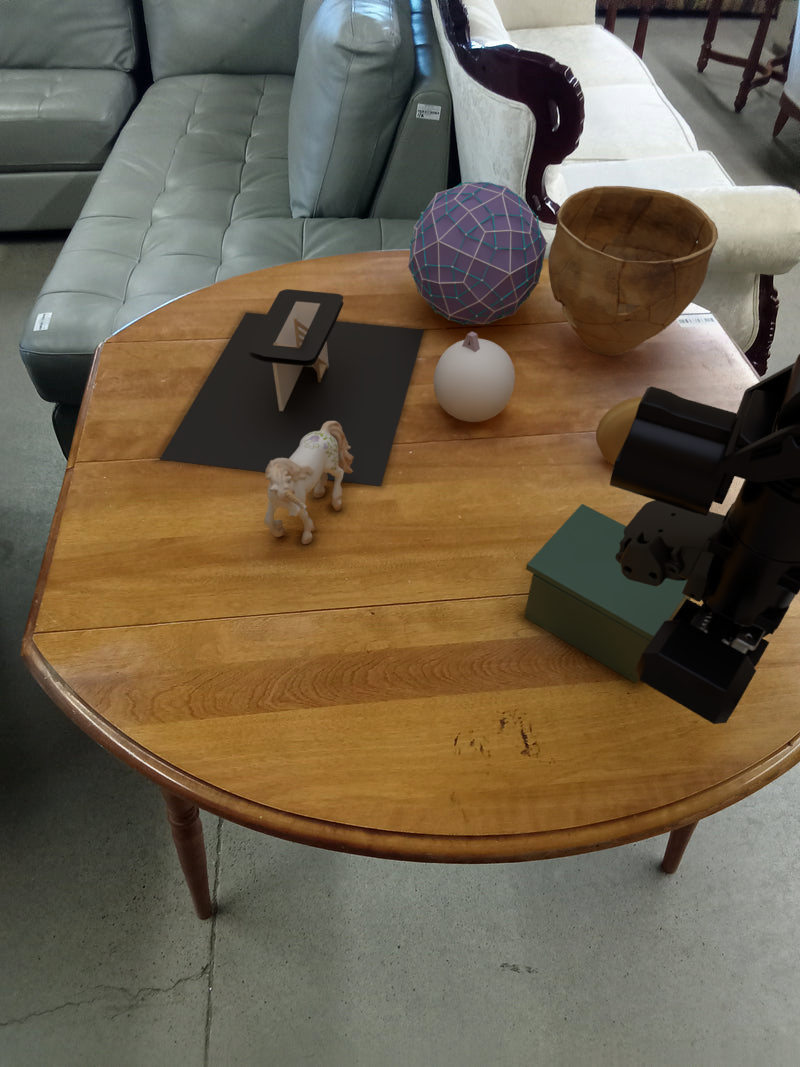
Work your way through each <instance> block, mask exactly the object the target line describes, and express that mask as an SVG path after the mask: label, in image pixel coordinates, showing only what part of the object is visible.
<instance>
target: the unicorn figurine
mask: <svg viewBox="0 0 800 1067" xmlns="http://www.w3.org/2000/svg"><path fill="white" fill-rule="evenodd" d="M350 448H351V447H350V446H349V445H348V442H347V440H346V438H345V435H344V433H343V431H342V427H341V425H340V424H339V423H338V422H336V421H327V422H325V423H324V424H323V425H322V428H321V430H320V431H313V432H311V433H308V434H307V435H305V436H304V437H303V438H302V439H301V441H300V445H299V447H298V448H297V450H296V451H295V452H294V453H293V454H292V456H291V457H290V458H289V459H287V458H276V459H274V460H271V461H270V463H269V464H268V466H267V468H266V472H264V473H265V480H266V481H269V482H268V487H267V499H268V502H267V508H266V512H265V515H264V521H263V522H264V524H265V525H266V527H267V528H268V529H269V532H270V534H271V535H272V536H274V537H276V538H280V537H283V536H285V535H286V532H287V530H286V529H285V527H284V522H283V521H282V519H275V514H276V512H277V510H278V509H279V508H280V509H285V510H286V509H287V511H288V516H289V517H297V516H299V518H300V519H301V521H302V522H303V529H304V531H303V533H302V536H301V538H300V541H301V543H302V544H303V545H308V544H310V543H312V541H313V533H312V532H313V531H314V530H315V529H316V528H315V526H314V521H313V519H312V518H311V517H309V512H308V511H307V505H306V501H307V495H308V493H310V492H311V491H312V490H313V493H312V496H313V497H314V498H315V499H319V498H322V497H324V495H325V494H326V488H325V487H326V486H327V483H328V480H327V479H328V477H327V473H330V474H331V475H333V476H335V480H334V482H333V490H332V492H331V498H332V502H331V505H332V508H333V509H334V511H336V512H339V511H341V510H342V509H343V501H342V498H343V487H342V485H341V484H342V482H343V481H342V478H343V474H344V472H346V473H352V472H353V470H352V469H351V468H350V464H351V463H352V462H353V461H352V459H354V457H353V456H352V455H351V454H350V453H349V452H348V451H347V450H349V449H350Z"/></svg>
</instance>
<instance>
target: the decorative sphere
mask: <svg viewBox="0 0 800 1067" xmlns="http://www.w3.org/2000/svg"><path fill="white" fill-rule="evenodd" d="M527 202H528V201H525V200H524V199H523V198H522V197H521V196H520V194H517V193H516V192H515V191H514V190H512V189H511V188H509V187H508V186H507V185H503V184H497V183H493V182H492V181H482V180H480V181H465V182H464V181H462V182H460V183H459V184H458V185H456V186H454V187H453V188H449V189H446V190H442V191H440V192H436V193H435V195H434V197H433V198H432V199H431V201H430V202H429V204H428V205H427V207H426V208H425V209H424V210H423V211H421V213H420V217H419V219H418V220H417V222H416V223H415V225H414V226H413V232H412V237H411V239H410V242H409V243H408V244H409V256H408V263H407V268H408V270H409V273H410V274H411V276H412V279H413V281H414V284H415V287H416V290H417V293H419V295H420V297H422V298H423V299H424V301H425V302H426V303H427V304H428V306H430V308H431V309H432V310H433V312H434V313H436V314H438V315H441V316H442V317H444V318H445V319H446V320H447V321H453V322H456V323H459V324H460V325H462V326H464V325H490V324H492V323H494V322H496V321H498V320H501V319H505V318H507V317H512V316H515V315H516V313H517V312H518V310H519V309H520V308H521V307H522V306H523V304H524V303H525V301H527V300H528V299H530V296H531V294H532V292H533V291H534V290H535V288H536V287H537V285H539V284H540V283H539V282H540V276H541V272H542V270H543V269H544V259H545V254H546V251H547V246H548V242H547V240H546V238H545V236H544V234H543V232H542V230H541V228H540V222H539V216H538V215H537V214H536V213H535V212H534V210H533V209H531V207H530V206H529V204H528V203H527Z"/></svg>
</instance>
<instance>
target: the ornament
mask: <svg viewBox="0 0 800 1067" xmlns="http://www.w3.org/2000/svg"><path fill="white" fill-rule="evenodd" d="M515 382H516V372H515V368H514V363H513V361H512V359H511V357H510V356H509V354H508V353H507V351H506V350H505V349H503V348H502V347H501V346H500V345H498V344H497V343H495V342H493V341H492V340H489V339H484V338H479V337H478V333H476V332H474V331H470V332H469V333H467V334H466V336H465V339H463V340H459V341H457V342H455V343H453V344H452V345H450V346H449V347H448V348H446V350H445V351H444V352H443V353H442V355H441V356H440V358H439V359H438V361H437V364H436V366H435V370H434V373H433V390H434V394H435V397H436V399H437V402H438V404H439V406H441V408H442V409H443V410H444V411H445V412H446V413H447V414H449V415H450V416H452V417H453V418H455V419H457V420H459V421H463V422H468V423H477V422H478V423H479V422H484V421H488V420H490V419H492V418H494V417H496V416H497V415H499V414H500V413H501V412H503V410H504V409H505V407H507V405H508V403H509V402H510V399H511V398H512V395H513V393H514V390H515Z"/></svg>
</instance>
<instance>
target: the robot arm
mask: <svg viewBox="0 0 800 1067" xmlns="http://www.w3.org/2000/svg"><path fill="white" fill-rule="evenodd" d="M642 396H643V397H642V399H641V401H640V403H639V406H638V409H637V413H636V416H635V419H634V421H633V424H632V426H631V429H630V431H629V434H628V436H627V438H626V440H625V442H624V444H623V446H622V448H621V450H620V452H619V454H618V456H617V459H616V461H615V464H614V465H613V468H612V471H611V475H610V480H609V486H610V487H614V488H617V489H620V490H623V491H626V492H629V493H632V494H635V495H639V496H642V497H645V498H648V499H650V501H648V502H647V503H645V504H643V506H642V507H641V508H639V510H638V511H637V513H636V514H635V515H634V516H633V518H631V520H630V521H629V523H628V524H627V525H625V526H626V528H625V529H624V537H623V539H622V540H621V541H620V550H619V552H618V553H617V554H616V556H615V558H616V560H617V561H618V562H619V563H620V564H621V570H622V573H623V575H624V576H625V577H626V578H627V579H629V580H632V581H636V582H640V583H644V584H648V585H652V586H659V585H661V584H662V583H663V581H664V580H665V579H666V578H668V579H672V580H676V581H685V580H687V583H686V585H685V587H684V589H683V592H682V594H684V595H686V596H688V597H690V598H691V599H692V600H694V601H696V602H694V601H692V600H691V599H690V600H689V599H686V600H685V602H684V603H683V605H682V606H681V607H680V609H679V610H678V612H677V613H676V615H675V616H674V618H673V619H672V620H668V621H664V622H663V624H662V625H661V627H660V628H659V630H658V631H657V633H656V634H655V635H654V637H653V638H652V640H651V641H650V643H649V644H648V645H647V647H646V648H645V650H644V651H643V653H642V654H641V657H640V659H639V661H638V664H637V666H636V669H635V671H636V673H637V676H638V678H639V680H638V681H640V682H642V683H644V684H645V685H647V686H648V687H650V688H652V689H654V690H656V691H657V692H659V693H660V694H662V695H664V696H666V697H667V698H668V699H670V700H672V701H673V702H675V703H677V704H679V705H681V706H682V707H683V708H685V709H687V710H688V711H691V712H692V713H694V714H696V715H697V716H699V717H700V718H702V719H704V720H706V721H707V722H709V723H711V724H712V725H718V724H719V725H720V724H727V723H728V720H729V719H730V718H731V716H732V714H733V712H734V711H735V709H736V708H737V706H738V704H739V703H740V701H741V699H742V698H743V696H744V693H746V690H747V688H748V687H749V685H750V683H751V681H752V679H753V677H754V676H755V674H756V673H757V670H756V668H755V667H756V666H757V665H758V663H759V662H760V660H761V659H762V656H763V655H764V653H765V652H766V650H767V648H768V647H769V644H770V641H768V640H766V639H764V638H765V637H767V636H769V635H773V634H774V632H776V631H777V629H778V628H779V627H780V625H781V623H782V621H783V619H784V618H785V616H786V614H787V613H788V611H789V609H790V605H791V604H792V602H793V600H794V598H795V597H796V595H797V596H798V594H799V592H800V353H799V354H798V355H797V357H796V358H795V362H793V363H792V364H790V365H788V366H786V367H784V368H782V369H780V370H779V371H777V372H775V373H773V374H771V375H770V376H768V377H767V378H764V379H762V380H760V381H759V382H757V383H754V384H753V385H751V386H750V387H748V388H746V389H745V390H744V392H743V395H742V398H741V401H740V402H739V403H740V404H739V406H738V409H737V411H736V412H734V411H730V410H726V409H723V408H719V407H716V406H713V405H709V404H705V403H702V402H698V401H695V400H691V399H687V398H685V397H682V396H679V395H678V394H676V393H674V392H672V391H669V390H666V389H663V388H660V387H656V386H652V385H651V386H649V387H646V389H645V391H644V394H643V395H642ZM735 477H736V478H739V479H743V483H742V485H741V487H740V489H739V491H738V493H737V496H736V498H735V500H734V502H733V503H732V504H731V506H730V507H729V508H728V510H727V511H726V512H725V515H724V514H720V513H717V512H714V511H710V509H711V507H712V505H713V503H715V504H719V505H723V504H724V502H725V500H726V498H727V495H728V493H729V491H730V488H731V486H732V483H733V481H734V479H735ZM698 602H702V604H701V605H700V604H698Z"/></svg>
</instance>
